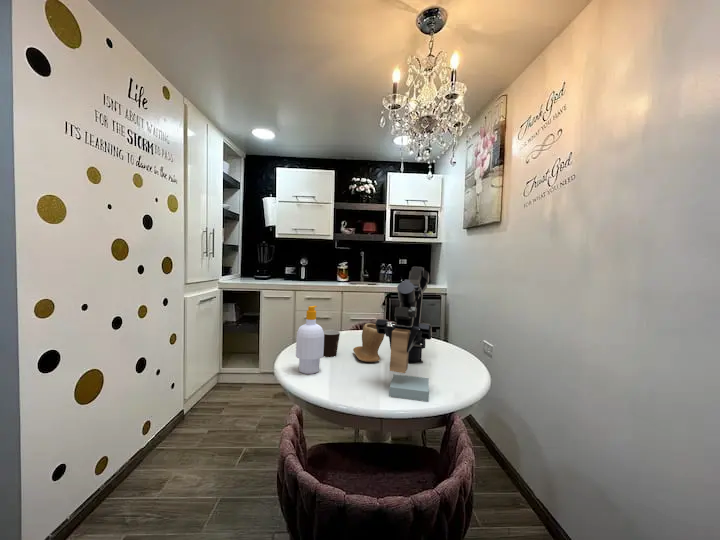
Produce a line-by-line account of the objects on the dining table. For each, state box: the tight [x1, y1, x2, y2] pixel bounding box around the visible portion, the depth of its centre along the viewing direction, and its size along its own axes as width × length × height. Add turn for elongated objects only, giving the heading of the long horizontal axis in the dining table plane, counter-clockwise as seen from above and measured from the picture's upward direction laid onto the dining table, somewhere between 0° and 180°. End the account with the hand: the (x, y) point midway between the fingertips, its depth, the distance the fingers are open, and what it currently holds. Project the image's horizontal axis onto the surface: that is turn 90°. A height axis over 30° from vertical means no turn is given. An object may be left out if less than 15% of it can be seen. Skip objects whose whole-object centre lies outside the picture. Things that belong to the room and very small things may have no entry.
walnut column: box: [389, 328, 410, 374], centre depth 107 cm, size 5×5×13 cm
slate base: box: [389, 373, 430, 402], centre depth 107 cm, size 12×12×3 cm
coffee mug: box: [323, 329, 341, 358], centre depth 144 cm, size 12×9×10 cm
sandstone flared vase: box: [352, 323, 386, 363], centre depth 140 cm, size 15×12×15 cm
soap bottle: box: [295, 305, 324, 375], centre depth 122 cm, size 10×10×24 cm
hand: (399, 350), depth 106 cm, fingers closed on walnut column, 5 cm apart
